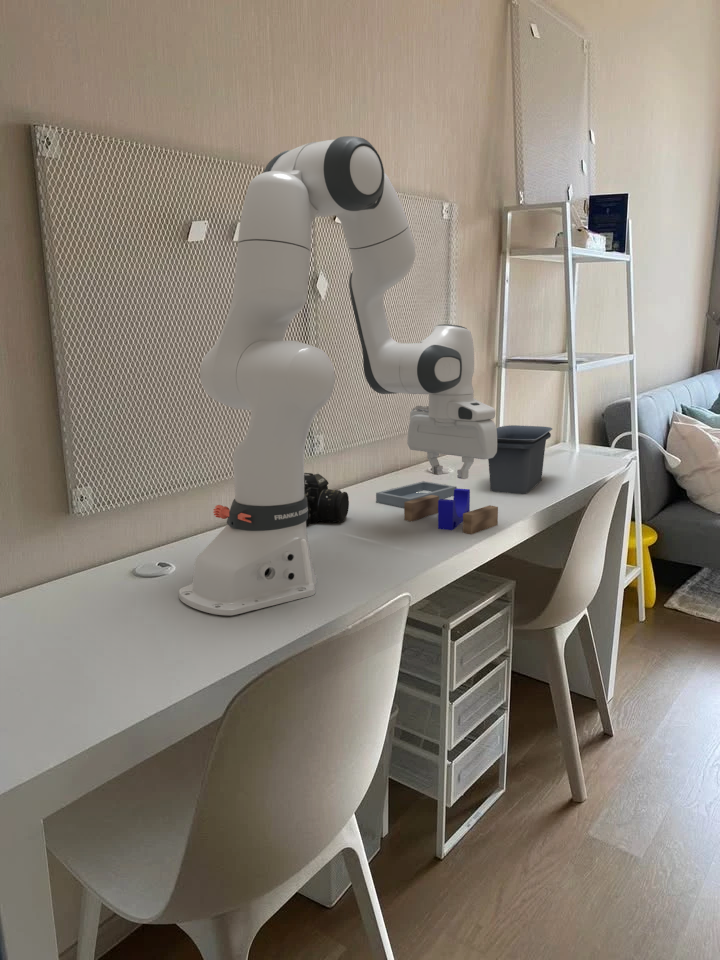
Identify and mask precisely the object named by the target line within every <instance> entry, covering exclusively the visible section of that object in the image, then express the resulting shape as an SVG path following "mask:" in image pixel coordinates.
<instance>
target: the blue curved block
mask: <svg viewBox="0 0 720 960" xmlns="http://www.w3.org/2000/svg"><path fill="white" fill-rule="evenodd" d="M470 502H471V489H469V488H458V487H457V488H456V489H455V490H454V496H453V499H448V498H445V499H440V500H438V513H437V517H438V518H437V528H438V530H445V531H446V530H447V531H454V530H455V529H456V528H457V527H458V526H460V525H461V524H463V513H467V512H470V510H471V509H470V507H471V503H470Z"/></svg>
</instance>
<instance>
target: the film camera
mask: <svg viewBox="0 0 720 960" xmlns="http://www.w3.org/2000/svg"><path fill="white" fill-rule="evenodd" d="M328 485H329V481H328V479H326V478H325V477H324V476H323V475H321V474H320V473H312V472H304V495H305V496H306V497H307V505H308V519H307V520H306V527H308V526H309V525H310V524H317V523H318V522H321V523H343V522H344V521H345V520H346V519H347V515H348V513H349V507H350V501H349V494H348V493H347V491H341V490H340V489H330V488H329V486H328Z"/></svg>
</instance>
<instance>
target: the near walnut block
mask: <svg viewBox="0 0 720 960" xmlns="http://www.w3.org/2000/svg"><path fill="white" fill-rule="evenodd" d="M498 518H499V506H495V505H491V504H490V505H486V506H483V507H479V508H478V509H474V510H471V511H470V512H467V513H463V522H462V534H467V535H474V534H476V533H479V532H483V531H485V530H488V529H491V528H494V527H496V526H498V523H499V521H498V520H499V519H498Z"/></svg>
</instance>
